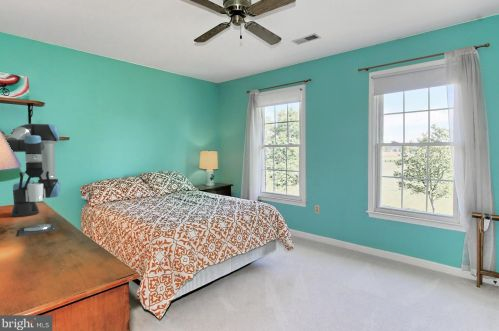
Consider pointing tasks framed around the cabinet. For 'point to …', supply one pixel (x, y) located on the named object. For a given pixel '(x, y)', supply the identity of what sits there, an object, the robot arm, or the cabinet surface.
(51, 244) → the cabinet surface
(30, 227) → the duct collar
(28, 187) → the white cup
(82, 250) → the cabinet surface
